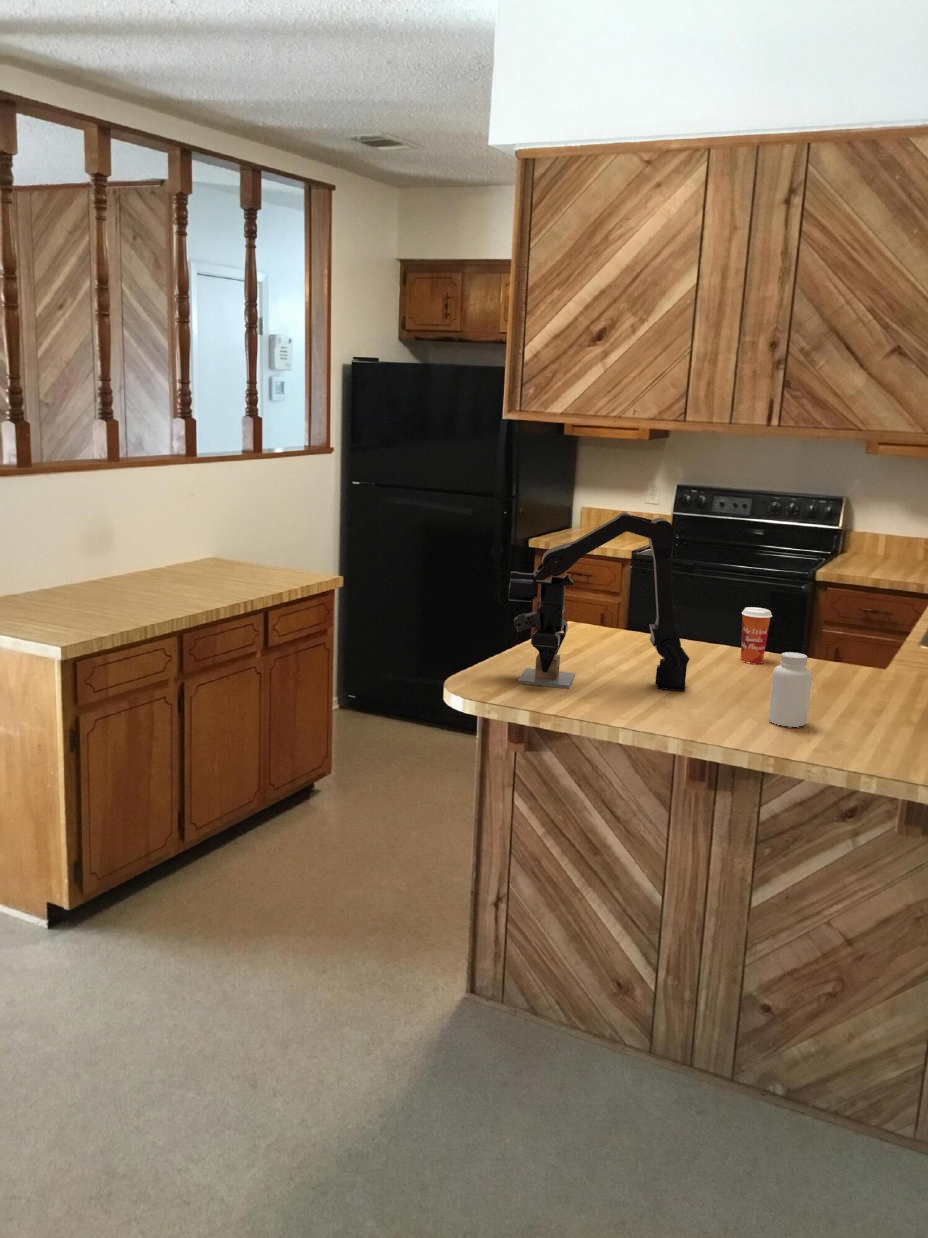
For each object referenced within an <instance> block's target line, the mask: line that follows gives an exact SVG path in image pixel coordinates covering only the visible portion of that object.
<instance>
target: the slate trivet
mask: <svg viewBox="0 0 928 1238" xmlns="http://www.w3.org/2000/svg"><path fill="white" fill-rule="evenodd" d="M535 669H536V668H531V667H530V668H529V667H525V669H524V670H523V672H522V674H521V675H520V676H519V677H518V679H517V684H519V685H528V684H534V685H533V686H537V685H542V686H541V687H547V686H552V687H551V688H556V687H557V688H558V689H566V688H567V689H568V690H569V689H570V688H571V685H572V683H573V681H574V679H575V677H576V672H568V671H560V670H559V676H558V677H557V679H556V680H549V679H540V678H535Z"/></svg>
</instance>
